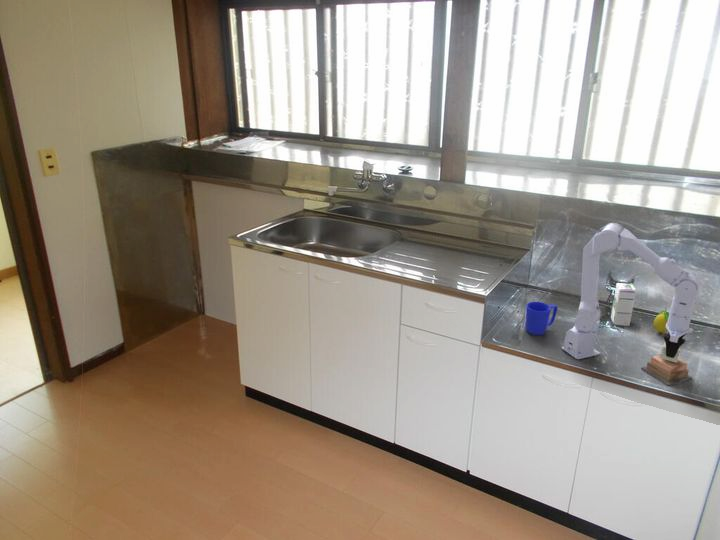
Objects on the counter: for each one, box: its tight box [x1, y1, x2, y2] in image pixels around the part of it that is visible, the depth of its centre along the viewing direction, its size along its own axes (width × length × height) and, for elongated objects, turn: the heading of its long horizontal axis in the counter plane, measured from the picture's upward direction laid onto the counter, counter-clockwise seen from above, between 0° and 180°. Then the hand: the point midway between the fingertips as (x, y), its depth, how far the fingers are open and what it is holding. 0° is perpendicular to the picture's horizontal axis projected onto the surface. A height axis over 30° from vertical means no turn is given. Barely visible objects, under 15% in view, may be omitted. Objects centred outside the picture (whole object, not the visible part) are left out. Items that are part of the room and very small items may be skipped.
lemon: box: [653, 307, 670, 334], centre depth 195 cm, size 7×6×10 cm
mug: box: [525, 301, 558, 336], centre depth 197 cm, size 8×12×10 cm
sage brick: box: [660, 341, 682, 363], centre depth 169 cm, size 4×4×4 cm
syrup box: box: [610, 282, 637, 327], centre depth 202 cm, size 6×6×14 cm
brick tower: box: [640, 353, 693, 386], centre depth 171 cm, size 10×10×5 cm
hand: (671, 353), depth 169 cm, fingers closed on sage brick, 4 cm apart
